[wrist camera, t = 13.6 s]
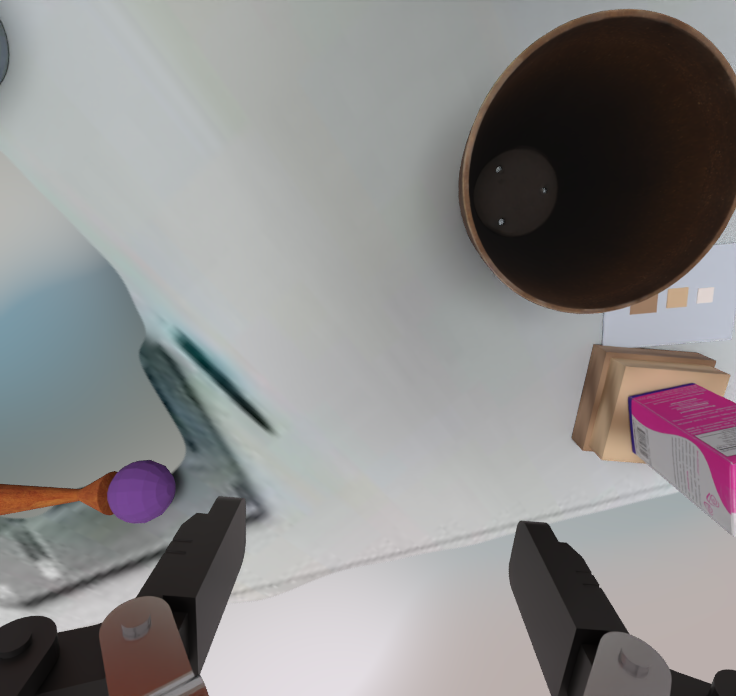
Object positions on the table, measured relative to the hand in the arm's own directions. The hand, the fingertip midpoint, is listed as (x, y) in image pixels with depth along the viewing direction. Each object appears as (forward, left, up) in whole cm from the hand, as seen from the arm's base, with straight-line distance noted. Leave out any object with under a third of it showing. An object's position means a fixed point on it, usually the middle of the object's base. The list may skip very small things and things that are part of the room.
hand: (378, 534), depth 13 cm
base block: (+6, +26, -30) cm, 40 cm away
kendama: (+21, -29, -31) cm, 47 cm away
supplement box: (+6, +26, -25) cm, 37 cm away
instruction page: (-4, +27, -30) cm, 41 cm away
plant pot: (-12, +11, -30) cm, 34 cm away
